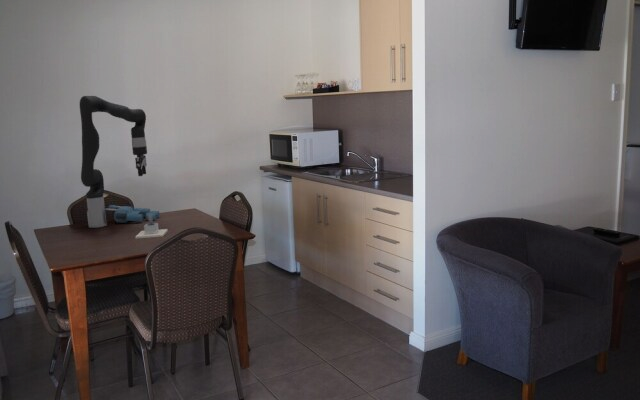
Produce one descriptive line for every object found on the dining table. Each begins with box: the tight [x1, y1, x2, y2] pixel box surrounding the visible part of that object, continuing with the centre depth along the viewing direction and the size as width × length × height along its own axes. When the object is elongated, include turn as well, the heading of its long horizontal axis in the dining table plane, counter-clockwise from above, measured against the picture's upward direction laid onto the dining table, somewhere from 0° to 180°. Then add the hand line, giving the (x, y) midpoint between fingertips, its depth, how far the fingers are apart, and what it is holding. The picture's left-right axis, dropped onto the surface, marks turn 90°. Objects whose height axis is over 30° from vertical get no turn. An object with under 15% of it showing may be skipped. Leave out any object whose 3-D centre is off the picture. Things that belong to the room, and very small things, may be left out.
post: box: [135, 214, 169, 239], centre depth 300 cm, size 14×14×11 cm
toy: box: [105, 204, 160, 224], centre depth 343 cm, size 22×9×30 cm
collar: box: [143, 222, 160, 234], centre depth 300 cm, size 6×6×4 cm
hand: (142, 175), depth 313 cm, fingers open, 8 cm apart
